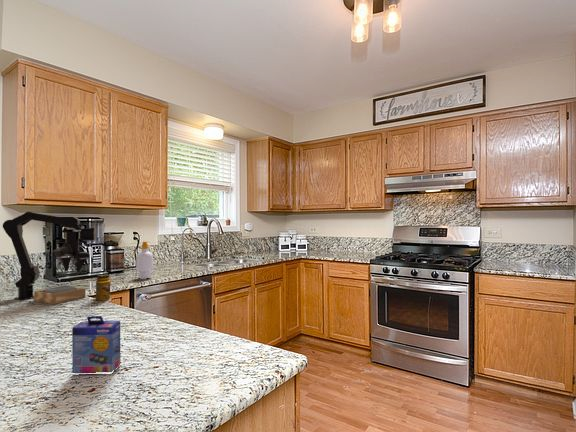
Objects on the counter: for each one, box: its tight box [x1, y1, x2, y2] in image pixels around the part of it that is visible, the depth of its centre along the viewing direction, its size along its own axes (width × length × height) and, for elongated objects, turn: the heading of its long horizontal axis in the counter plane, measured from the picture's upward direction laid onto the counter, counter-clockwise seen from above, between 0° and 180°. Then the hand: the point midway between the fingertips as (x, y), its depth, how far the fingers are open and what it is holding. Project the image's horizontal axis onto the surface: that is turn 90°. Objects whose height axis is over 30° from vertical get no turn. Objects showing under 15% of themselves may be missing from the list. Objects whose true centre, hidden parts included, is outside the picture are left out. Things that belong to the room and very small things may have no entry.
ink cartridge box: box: [71, 315, 122, 374], centre depth 86 cm, size 10×6×14 cm, turn 95°
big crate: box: [33, 286, 86, 305], centre depth 164 cm, size 15×15×4 cm
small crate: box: [44, 284, 76, 294], centre depth 164 cm, size 10×6×5 cm, turn 157°
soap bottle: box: [135, 241, 154, 280], centre depth 222 cm, size 10×10×24 cm
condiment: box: [90, 274, 112, 303], centre depth 162 cm, size 7×8×12 cm
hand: (72, 271), depth 174 cm, fingers open, 9 cm apart
